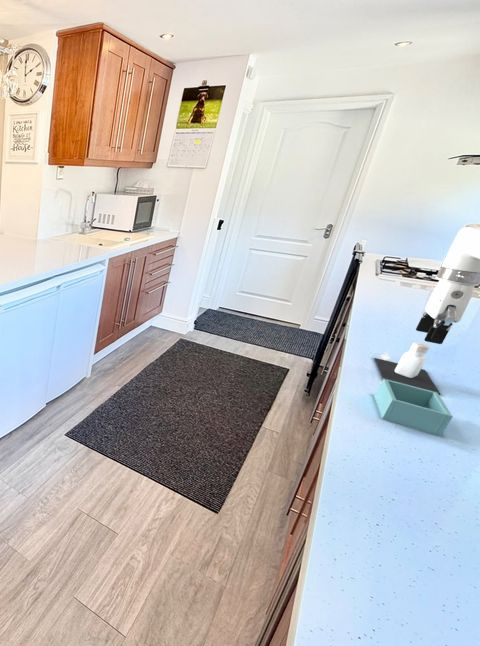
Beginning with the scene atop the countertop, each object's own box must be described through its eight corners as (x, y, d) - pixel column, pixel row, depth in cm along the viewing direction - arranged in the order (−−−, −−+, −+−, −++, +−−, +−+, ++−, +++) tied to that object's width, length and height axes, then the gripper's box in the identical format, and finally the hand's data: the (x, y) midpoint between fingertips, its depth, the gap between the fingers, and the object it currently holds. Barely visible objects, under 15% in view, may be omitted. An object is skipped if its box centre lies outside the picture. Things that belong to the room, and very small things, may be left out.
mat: (424, 371, 118) (425, 369, 118) (439, 395, 105) (440, 394, 105) (374, 358, 124) (374, 357, 124) (383, 380, 111) (383, 379, 111)
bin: (426, 410, 98) (437, 392, 96) (440, 436, 89) (453, 416, 87) (374, 396, 103) (383, 378, 101) (381, 418, 94) (392, 399, 92)
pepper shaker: (417, 376, 114) (434, 346, 110) (411, 379, 112) (428, 349, 108) (398, 369, 117) (414, 340, 113) (392, 372, 115) (408, 342, 111)
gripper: (494, 286, 94) (457, 351, 101) (469, 273, 107) (438, 331, 114) (447, 279, 99) (415, 342, 105) (429, 268, 112) (402, 324, 118)
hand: (427, 336), depth 109 cm, fingers open, 9 cm apart
